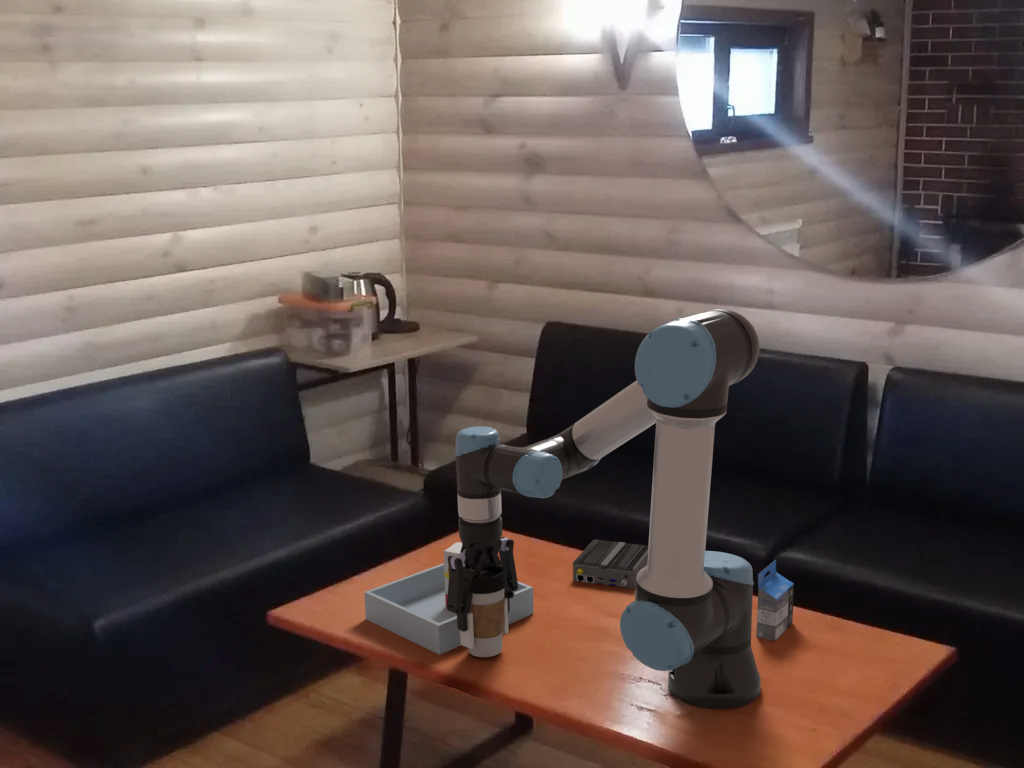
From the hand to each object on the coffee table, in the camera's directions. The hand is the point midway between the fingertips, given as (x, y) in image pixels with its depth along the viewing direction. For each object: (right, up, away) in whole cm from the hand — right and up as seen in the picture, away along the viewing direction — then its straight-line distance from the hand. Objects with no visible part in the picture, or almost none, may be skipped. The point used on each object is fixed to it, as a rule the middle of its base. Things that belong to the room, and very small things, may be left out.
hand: (484, 638), depth 211 cm
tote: (-7, +1, +16) cm, 18 cm away
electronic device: (+26, +5, +35) cm, 44 cm away
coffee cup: (0, -2, +1) cm, 2 cm away
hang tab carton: (+53, -1, +7) cm, 53 cm away
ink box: (-3, +2, +19) cm, 20 cm away
